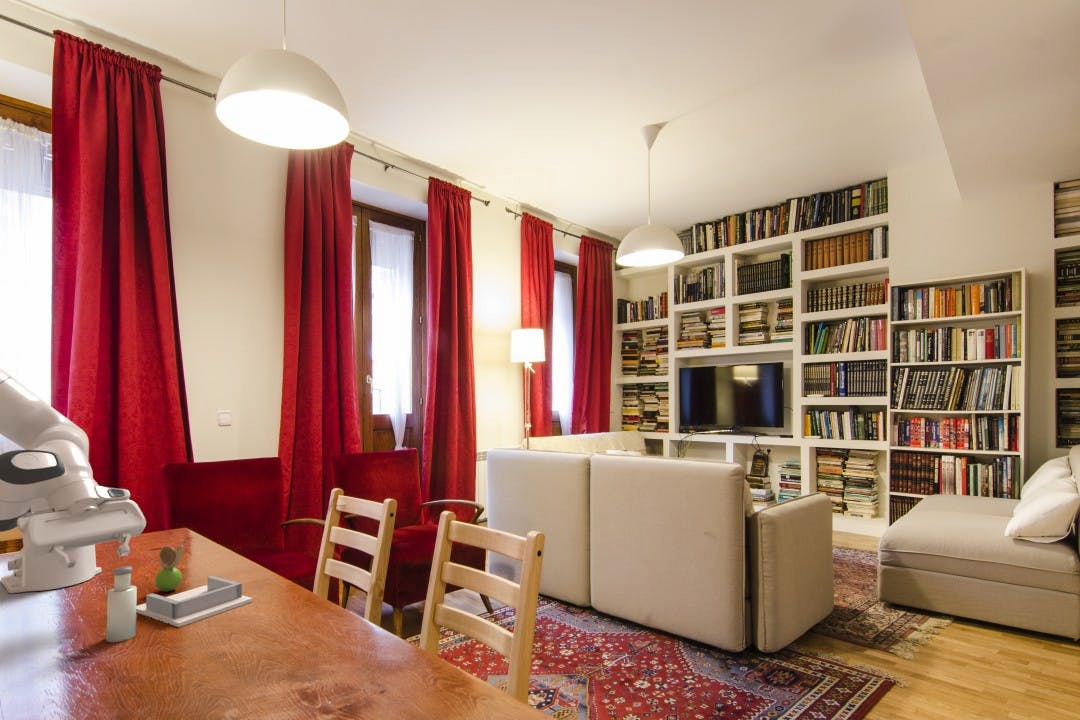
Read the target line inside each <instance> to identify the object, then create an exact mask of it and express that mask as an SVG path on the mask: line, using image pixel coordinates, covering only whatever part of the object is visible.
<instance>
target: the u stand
mask: <svg viewBox="0 0 1080 720" xmlns="http://www.w3.org/2000/svg"><path fill="white" fill-rule="evenodd" d="M242 588H243V583H241V582H239V581H233V580H230V579H226V578H222V577H218V576H215V575H212V576H211V575H210V576H209V577H207V584H206V585H203V586H199V587H195V588H193V589H189V590H185V591H181V592H178V593H176V594H171V595H169V596H166V597H165V596H163V595H159V594H156V593H153V592H152V593H149V594H145V595H146V598H145V599H146V602H145V603H142V604H139V605H136V614H140V615H142V616H145V617H148V616H149V617H148V618H151V617H152V619H154V620H156V621H159V620H160V621H159V622H162V621H163V622H162V623H165V624H168V623H169V625H172V626H174V627H176V628H181V627H184V626H187V625H189V624H191V623H195V622H198V621H201V620H204V619H207V618H210V617H212V616H215V615H218V614H221V613H224V612H227V611H230V610H232V609H236V608H238V607H242V606H244V605H246V604H247V605H248V604H250V603H253V602H254V601H253V599H254V598H253V597H250V596H246V595H242V594H243V589H242Z"/></svg>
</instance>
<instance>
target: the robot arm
mask: <svg viewBox="0 0 1080 720" xmlns="http://www.w3.org/2000/svg"><path fill="white" fill-rule="evenodd" d="M0 435H1V436H3V437H5V438H6V439H8V440H10V441H11V442H13V443H14V444H16V445H17V446H19V447H20V448H21V449H16V450H11V451H6V452H3V453H1V454H0V533H2V532H7V531H10V530H13V529H15V528H18V530H19V532H21V533H22V544H23V547H22V548H20V549H21V550H19V552H18V553H16V555H15V556H14V558H13V560H12V559H11V560H9V561H8V562H7V571H9V572H11V571H12V573H9V574H6V575H3V576H2V577H0V583H1V584H2V586H3V587H4V588H5V589H6V591H7V593H9V594H16V593H25V592H36V591H49V590H54V589H55V590H56V589H61V588H65V587H70V586H74V585H78V584H80V583H81V584H82V583H84V582H86V581H89V580H91V579H92V578H93V577H95V576H96V575H97V574H100V573H102V567H100V566H97V561H96V560H97V559H96V545H99V544H103V543H104V544H105V543H110V542H115V541H119V542H118V543H120V544H121V545H119V547H118V548H117V550H116V553H117V554H118V557H125V556H128V555H129V554H130V552H131V549H130V547H129V543H130V540H131V538H135V537H139V536H140V535H141V534H142V533H143V531H144V529H145V528H146V525H147V519H146V517H145V516H144V514H143V512H142V510H141V508H140V507H139V505H138V504H137V503H136V502H135V501H133V500H131V499H130V497H131V493H130V490H128V489H126V488H115V487H108V486H102V485H99V484H98V482H97V481H96V480H95V479H94V476H93V475H94V473H93V469H92V466H91V463H90V461H89V458H90V457H89V455H90V453H89V451H90V444H89V443H90V442H89V441H90V440H89V437H88V435H87V433H86V432H85V431H84V430H83V429H82V428H80V427H79V426H78V425H77V424H75V423H74V422H73V421H71V420H70V419H69V418H68V417H66V416H64V415H63V414H62V413H61V412H60V411H58V410H56V409H55V408H53V407H52V406H51V405H50V404H48V403H47V402H46V401H44V400H43V399H41V398H40V397H39V396H37V395H36V394H35V393H34V392H32V391H31V390H29V388H27V387H26V386H25V385H23V384H22V383H20V382H19V381H18V380H17V379H16V378H14V377H13V376H12V375H11V374H9V373H8V372H6V371H5V370H3V369H2V368H0Z"/></svg>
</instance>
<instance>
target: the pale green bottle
mask: <svg viewBox="0 0 1080 720" xmlns="http://www.w3.org/2000/svg"><path fill="white" fill-rule="evenodd" d="M132 572H133V566H130V565H126V566H125V565H124V566H119V567H116V568H113V570H112V574H113V576H114V584H113V585H114V587H113V588H111V589H109V590H108V591H107V609H106V610H107V611H106V612H107V613H106V642H107V643H119V642H124V641H127V640H131V639H132V638H135V636H137V612H136V606H137V601H138V599H137V593H138V592H137V591H138V587H137V586H136V585H131V584H132V583H131V582H132V581H131V580H132V579H131V578H132Z"/></svg>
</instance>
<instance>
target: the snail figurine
mask: <svg viewBox="0 0 1080 720" xmlns="http://www.w3.org/2000/svg"><path fill="white" fill-rule="evenodd" d="M184 542H185V540H184V539H181V540H179V545H177V546H176V549H175V548H174V547H173V546H171V545H167V546H164V547H163V548H162V549H161V550H160V552H159V559H160V562H159V565H160V567H161V568H163V569H161V570H160V571H159V572H158V573H157V574H156V576H155V580H154V585H155V587H156V588H157V589H158V590H159V591H162V592H165V593H166V592H171V591H173V590H175V589H177V588H178V587H179V586H180V584H181V583H182V580H183V576H182V575H183V574H182V572H181V570H179V569H178V568H177V567H178V565H179V564H180V562H181V559H182V555H183V550H184V544H182V543H184Z"/></svg>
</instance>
